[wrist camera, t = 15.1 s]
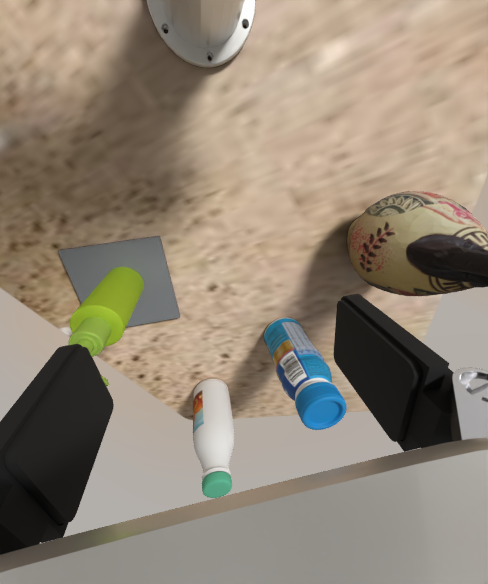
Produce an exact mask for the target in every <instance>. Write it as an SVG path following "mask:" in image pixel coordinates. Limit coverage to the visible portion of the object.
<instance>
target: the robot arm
mask: <svg viewBox="0 0 488 584" xmlns="http://www.w3.org/2000/svg"><path fill="white" fill-rule="evenodd" d="M146 1H147V4H148V8H149V12H150V14H151V17H152V20H153V23H154V25H155V27H156V29H157V31H158V33H159V35H160V36H161V37H162V39H163V40H164V42H165V43H166V45H167V46H168V47H169V48H170V49H171V50H172V51H173V52H174V53H175V54H176V55H177V56H179V57H180V58H181V59H183V60H184V61H186V62H188V63H190V64H192V65H195V66H200V67H216V66H219V65H222V64H224V63H226V62H228V61H230V60H231V59H232V58H233V57H234V56H235V55H236V54H238V52H239V51H240V50H241V48H242V47H243V45H244V44H245V42H246V39H247V37H248V35H249V33H250V30H251V27H252V24H253V19H254V14H255V5H256V0H146ZM243 25H245V26H246V29H244V28H243V27H242V26H243ZM164 30H167V31H168V33H167V34H165V33H164ZM208 57H211V59H212V60H211V61H209V60H208V59H207V58H208ZM334 359H335V362H336V364H337V365H338V367H339V368H340V370H341V371H342V372H343V374H344V375H345V377H346V378H347V379H348V381H349V382H350V383H351V385H352V386H353V388H354V389H355V390H356V392H357V393H358V395H359V396H360V397H361V399H362V400H363V402H364V403H365V404H366V406H367V407H368V409H369V410H370V411H371V413H372V414H373V415H374V417H375V418H376V420H377V421H378V422H379V424H380V425H381V427H382V428H383V429H384V431H385V432H386V433H387V435H388V436H389V438H390V439H391V440H392V441H394V442H396V441H397V442H398V444H399V445H400V446H401V448H402V449H403V450H404V452H402V453H398V454H394V455H389V456H385V457H381V458H377V459H373V460H369V461H365V462H360V463H356V464H352V465H348V466H344V467H340V468H336V469H332V470H328V471H324V472H320V473H316V474H312V475H308V476H303V477H300V478H295V479H291V480H288V481H283V482H279V483H275V484H271V485H267V486H263V487H259V488H256V489H251V490H247V491H243V492H240V493H235V494H232V495H227V496H223V497H219V498H215V499H212V500H207V501H204V502H200V503H196V504H192V505H188V506H184V507H180V508H176V509H172V510H168V511H164V512H160V513H157V514H152V515H149V516H145V517H141V518H137V519H133V520H129V521H125V522H121V523H118V524H114V525H110V526H106V527H102V528H98V529H94V530H90V531H86V532H82V533H78V534H75V535H71V536H67V537H63V536H64V533H65V530H66V528H67V525H68V522H71V521H72V520H73V518H74V517H75V515H76V513H77V510H78V507H79V504H80V501H81V499H82V496H83V493H84V490H85V487H86V484H87V482H88V479H89V476H90V473H91V470H92V467H93V464H94V462H95V459H96V456H97V453H98V450H99V448H100V445H101V442H102V439H103V436H104V433H105V430H106V427H107V425H108V422H109V419H110V416H111V414H112V410H113V400H112V397H111V395H110V393H109V391H108V389H107V387H106V385H105V383H104V381H103V379H102V377H101V375H100V373H99V371H98V368H97V366H96V365H95V362H94V360H93V358H92V356H91V354H90V352H89V350H88V348H86V347H82V345H80V344H73V345H68V346H63V347H59V348H58V349H57V350H56V351H55V353H54V354H53V355H52V357H51V358H50V359H49V360H48V362H47V363H46V364H45V365H44V367H43V368H42V369H41V371H40V372H39V373H38V374H37V376H36V377H35V378H34V380H33V381H32V382H31V383H30V385H29V386H28V387H27V389H26V390H25V391H24V392H23V394H22V395H21V396H20V398H19V399H18V400H17V401H16V403H15V404H14V405H13V406H12V408H11V409H10V410H9V411H8V413H7V414H6V415H5V417H4V418H3V419H2V420H1V422H0V584H488V371H487V370H483V369H478V368H461V369H458V370H456V371H455V372H452V371H451V370H450V369H449V368H448V365H449V363H448V362H447V361H445V360H444V359H443V358H441V357H440V356H439V355H438V354H436V353H435V352H434V351H432V350H431V349H430V348H428V347H427V346H426V345H425V344H423V343H422V342H421V341H419V340H418V339H417V338H415V337H414V336H413V335H412V334H410V333H409V332H408V331H406V330H405V329H404V328H402V327H401V326H400V325H399V324H397V323H396V322H395V321H393V320H392V319H391V318H389V317H388V316H387V315H385V314H384V313H383V312H382V311H380V310H379V309H378V308H376V307H375V306H374V305H372V304H371V303H370V302H368V301H367V300H366V299H365V298H363V297H362V296H361V295H359V294H354V295H348V296H343V297H342V299H341V301H338V303H337V315H336V329H335V343H334ZM420 447H421V449H417V448H420ZM413 449H416V450H413ZM409 450H411V451H409ZM405 451H407V452H405ZM59 538H60V539H59ZM55 539H56V540H55ZM51 540H52V541H51ZM47 541H49V542H47ZM40 542H41V543H42V544H39V543H40ZM43 542H45V543H43Z"/></svg>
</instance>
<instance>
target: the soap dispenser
mask: <svg viewBox="0 0 488 584" xmlns="http://www.w3.org/2000/svg"><path fill="white" fill-rule="evenodd" d="M143 288H144V282H143V279H142V277H141V276H140V274H139V273H138V272H136V271H135V270H133V269H131V268H128V267H118V268H115V269H113V270H111V271H110V272H109V273H108V274H107V275H106V276H105V278H104V279H103V280H102V281H101V282H100V283H99V285H98V286H97V287H96V288H95V289H94V290H93V292H92V293H91V294H90V295H89V296H88V297H87V298H86V300H85V301H84V302H83V303H82V304H81V305H80V307H79V308H78V309H77V310H76V311H75V312H74V314H73V315H72V317H71V319H70V328H71V330H72V332H73V334H72V336H71V337H70V339H69V345H73V344H80V345H82V347H86V348H88V350H89V352H90V354H91V356H92V357H93V356H96V355H98V354H99V353H100V352H101V351H102V350H103V348H104V346H109V345H112V344H114V343H116V342H117V341H118V340H119V339H120V338H121V337H122V335H123V333H124V330H125V328H126V326H127V324H128V322H129V319H130V317H131V315H132V313H133V311H134V308H135V306H136V304H137V302H138V300H139V298H140V295H141V293H142V291H143ZM101 377H102V379H103V381H104V383H105V385H106V386H108V385H109V383H108V380H107V379H106V378H104V377H103V376H101Z"/></svg>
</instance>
